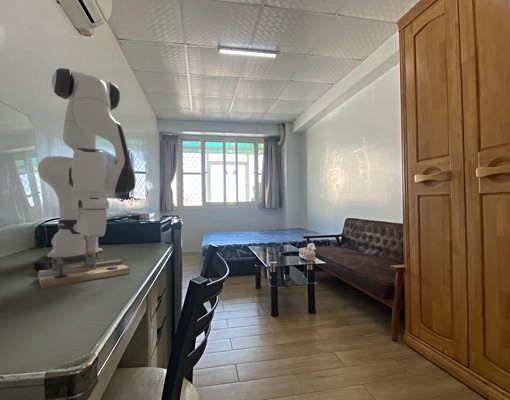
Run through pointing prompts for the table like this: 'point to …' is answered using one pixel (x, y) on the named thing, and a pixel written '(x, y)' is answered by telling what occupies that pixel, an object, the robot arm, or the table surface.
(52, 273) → the hole plate
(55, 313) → the table surface
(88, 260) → the block
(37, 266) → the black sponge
